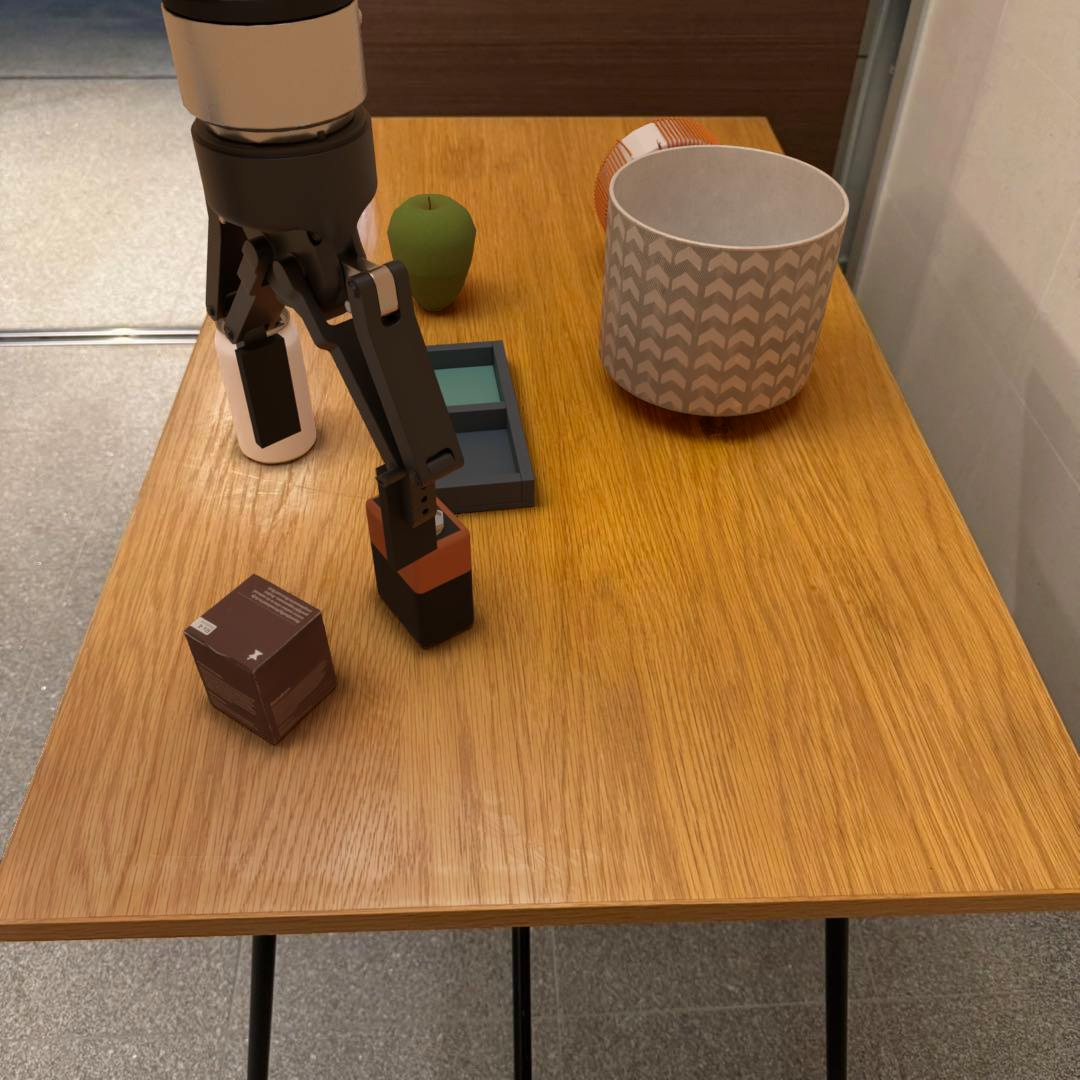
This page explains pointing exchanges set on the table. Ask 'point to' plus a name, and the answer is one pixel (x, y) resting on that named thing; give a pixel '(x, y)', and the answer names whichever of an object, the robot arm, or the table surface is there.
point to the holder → (483, 429)
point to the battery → (427, 579)
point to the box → (262, 657)
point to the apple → (433, 247)
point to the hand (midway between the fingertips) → (341, 493)
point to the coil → (646, 151)
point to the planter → (717, 276)
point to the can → (238, 405)
